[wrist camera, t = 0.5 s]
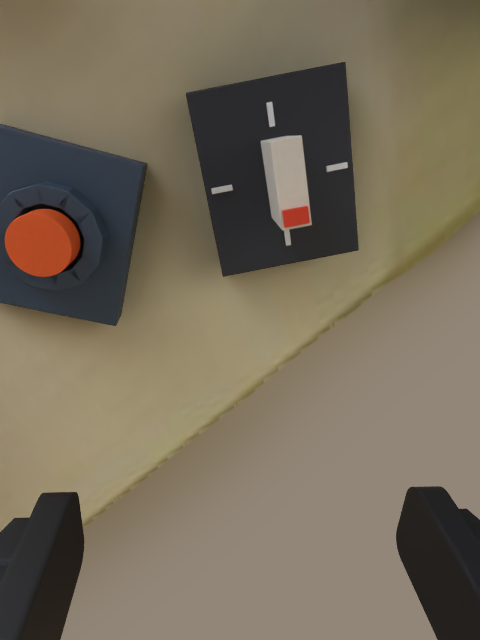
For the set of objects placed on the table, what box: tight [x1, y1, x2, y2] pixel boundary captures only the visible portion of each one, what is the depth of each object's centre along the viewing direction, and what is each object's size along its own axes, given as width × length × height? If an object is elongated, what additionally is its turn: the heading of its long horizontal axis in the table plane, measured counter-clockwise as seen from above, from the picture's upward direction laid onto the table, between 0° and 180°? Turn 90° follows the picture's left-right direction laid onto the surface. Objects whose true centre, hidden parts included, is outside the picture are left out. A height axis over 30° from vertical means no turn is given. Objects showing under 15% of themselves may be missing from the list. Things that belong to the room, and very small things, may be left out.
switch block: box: [0, 124, 147, 326], centre depth 30 cm, size 12×10×4 cm
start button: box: [5, 209, 80, 277], centre depth 28 cm, size 4×4×2 cm
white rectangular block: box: [261, 135, 312, 231], centre depth 27 cm, size 5×2×5 cm, turn 10°
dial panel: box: [186, 62, 359, 276], centre depth 30 cm, size 12×10×3 cm
